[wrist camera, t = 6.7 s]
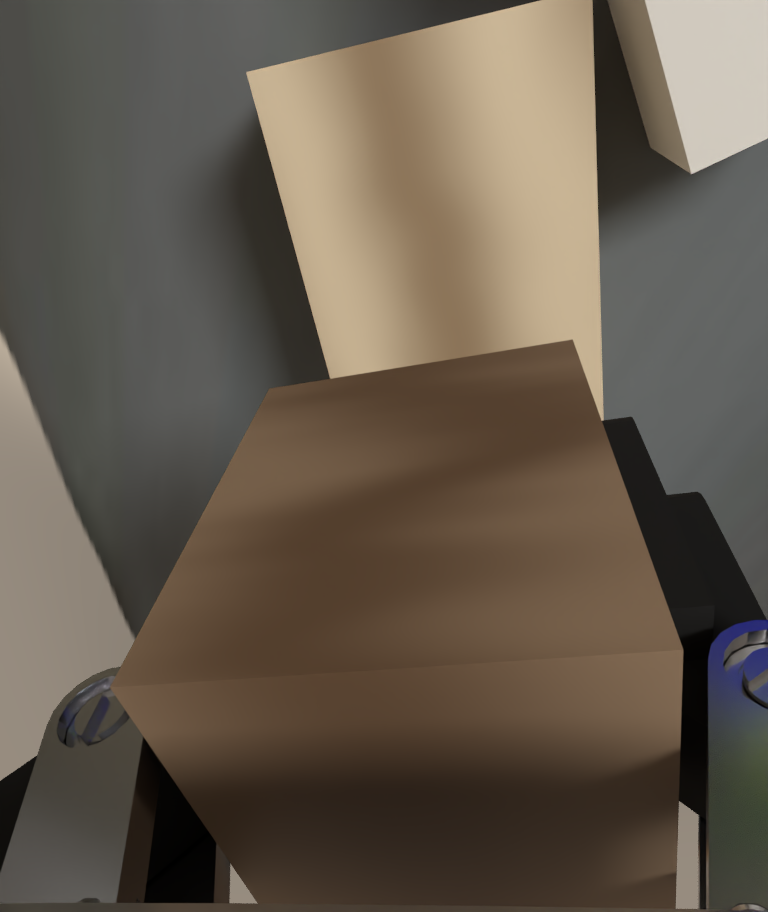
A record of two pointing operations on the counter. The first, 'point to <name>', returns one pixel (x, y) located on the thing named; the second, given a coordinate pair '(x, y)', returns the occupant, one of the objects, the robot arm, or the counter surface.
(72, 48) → the counter surface
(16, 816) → the robot arm
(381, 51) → the maple block
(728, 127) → the offwhite cube
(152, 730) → the walnut block
